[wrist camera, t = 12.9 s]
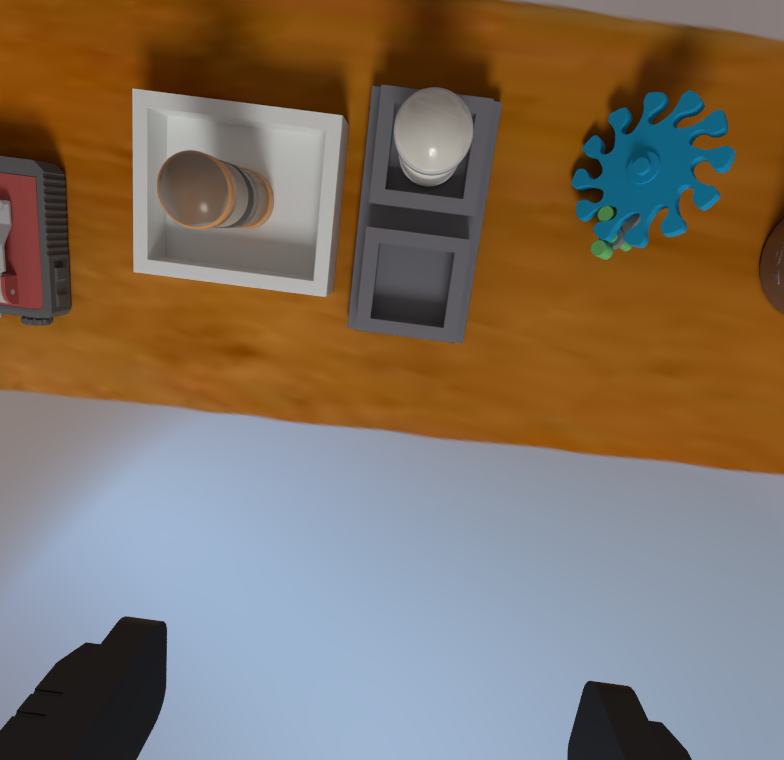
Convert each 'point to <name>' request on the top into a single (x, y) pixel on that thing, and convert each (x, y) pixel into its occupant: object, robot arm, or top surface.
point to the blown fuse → (213, 192)
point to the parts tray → (260, 154)
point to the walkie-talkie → (33, 241)
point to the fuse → (432, 135)
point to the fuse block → (418, 230)
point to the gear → (650, 172)
